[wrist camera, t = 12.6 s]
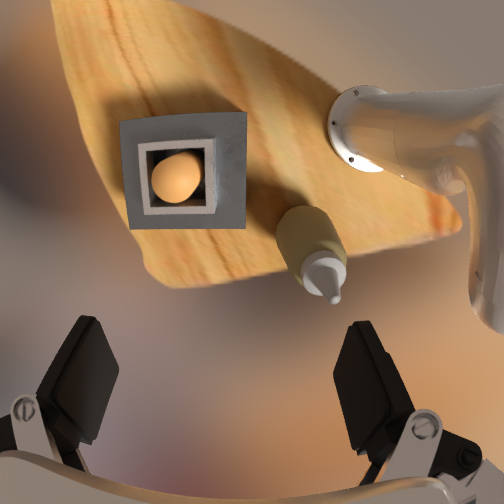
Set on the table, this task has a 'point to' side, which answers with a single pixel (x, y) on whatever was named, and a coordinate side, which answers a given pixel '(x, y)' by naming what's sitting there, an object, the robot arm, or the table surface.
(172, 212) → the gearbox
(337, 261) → the squeeze bottle
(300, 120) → the table surface
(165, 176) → the orange cylinder
